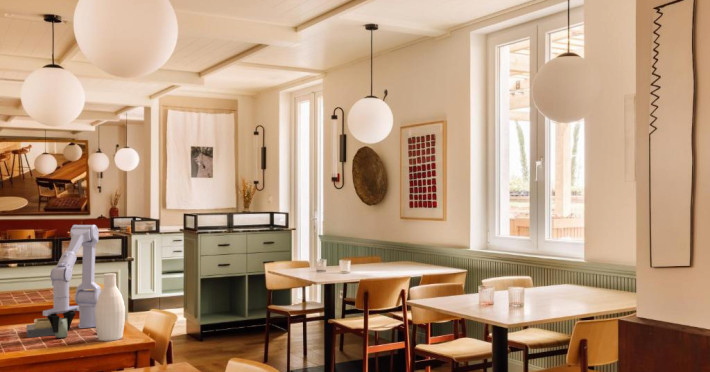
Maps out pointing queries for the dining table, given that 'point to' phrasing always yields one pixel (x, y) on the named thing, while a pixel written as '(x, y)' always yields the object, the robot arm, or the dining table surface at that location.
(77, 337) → the dining table surface
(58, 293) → the robot arm
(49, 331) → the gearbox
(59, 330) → the spout can
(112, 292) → the bottle
